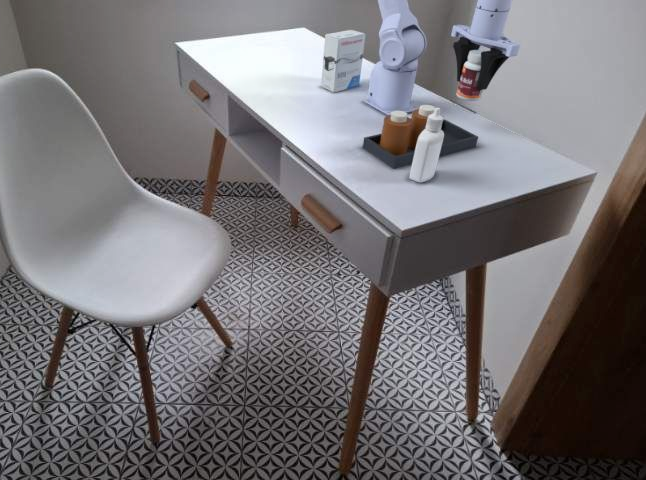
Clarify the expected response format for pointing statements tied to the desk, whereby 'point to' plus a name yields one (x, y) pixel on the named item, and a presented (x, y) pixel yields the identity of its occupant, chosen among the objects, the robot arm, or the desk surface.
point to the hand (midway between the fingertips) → (471, 84)
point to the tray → (452, 143)
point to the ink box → (342, 60)
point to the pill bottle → (470, 77)
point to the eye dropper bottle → (428, 149)
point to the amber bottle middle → (419, 123)
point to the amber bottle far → (396, 132)
